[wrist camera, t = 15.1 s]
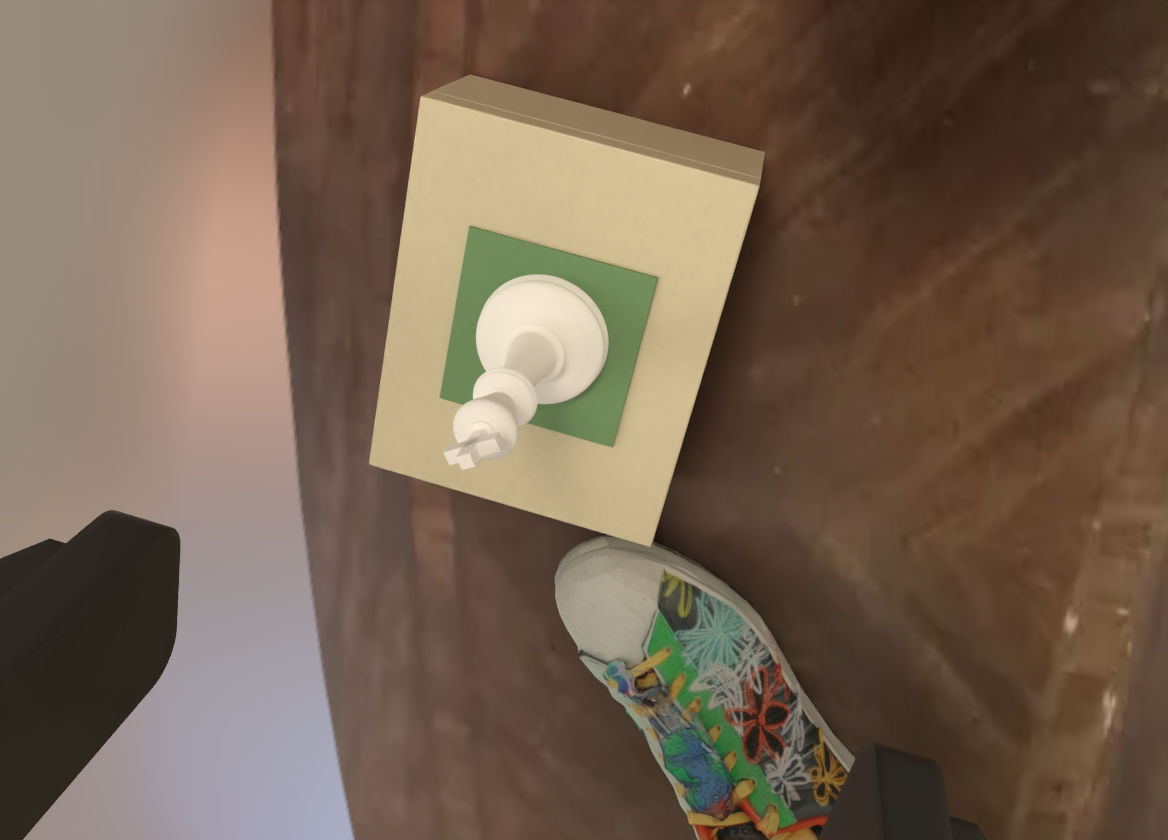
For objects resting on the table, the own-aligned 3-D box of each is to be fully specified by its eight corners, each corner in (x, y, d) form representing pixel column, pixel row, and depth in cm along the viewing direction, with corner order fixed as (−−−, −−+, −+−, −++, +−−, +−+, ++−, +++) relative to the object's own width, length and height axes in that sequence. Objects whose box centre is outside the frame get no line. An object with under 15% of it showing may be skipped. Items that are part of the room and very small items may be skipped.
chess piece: (457, 296, 38) (354, 407, 29) (580, 256, 36) (510, 360, 28) (508, 413, 40) (425, 552, 31) (627, 379, 38) (576, 515, 29)
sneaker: (651, 482, 47) (619, 610, 38) (922, 789, 52) (950, 963, 43) (531, 562, 50) (477, 697, 41) (798, 844, 55) (800, 1018, 46)
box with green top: (416, 405, 47) (366, 467, 42) (469, 74, 41) (418, 96, 35) (667, 477, 47) (650, 550, 41) (765, 151, 40) (759, 187, 34)
